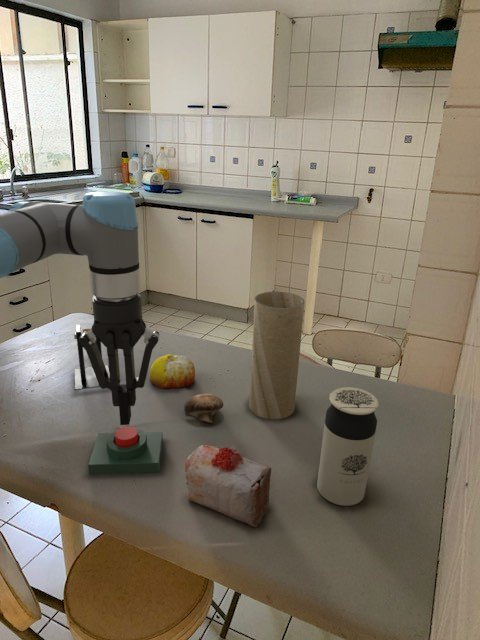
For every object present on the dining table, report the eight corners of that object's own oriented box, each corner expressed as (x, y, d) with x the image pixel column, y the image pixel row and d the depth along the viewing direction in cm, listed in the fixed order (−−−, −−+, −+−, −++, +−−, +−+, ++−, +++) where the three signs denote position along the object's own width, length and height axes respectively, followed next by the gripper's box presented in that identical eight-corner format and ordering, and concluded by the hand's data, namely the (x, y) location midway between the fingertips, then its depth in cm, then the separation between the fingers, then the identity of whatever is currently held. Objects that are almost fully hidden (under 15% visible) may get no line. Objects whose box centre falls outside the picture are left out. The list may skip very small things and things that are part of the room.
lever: (82, 348, 115) (80, 333, 116) (97, 346, 116) (95, 332, 117) (80, 342, 103) (79, 326, 103) (97, 341, 104) (95, 325, 104)
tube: (274, 389, 109) (282, 288, 99) (303, 410, 101) (315, 302, 92) (240, 402, 103) (244, 296, 94) (268, 424, 96) (276, 312, 86)
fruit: (179, 398, 103) (170, 365, 101) (145, 396, 109) (135, 365, 107) (207, 376, 112) (198, 345, 110) (174, 376, 118) (165, 347, 116)
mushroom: (217, 421, 90) (211, 390, 92) (181, 429, 93) (175, 398, 94) (231, 419, 98) (225, 390, 99) (197, 426, 100) (192, 398, 101)
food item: (177, 502, 75) (176, 452, 71) (203, 472, 82) (203, 426, 78) (253, 535, 69) (257, 483, 66) (274, 500, 76) (278, 451, 72)
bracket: (74, 373, 113) (68, 320, 107) (108, 369, 115) (104, 317, 110) (75, 394, 104) (68, 338, 99) (112, 389, 106) (107, 334, 101)
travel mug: (315, 471, 83) (326, 384, 76) (360, 476, 82) (375, 388, 75) (318, 504, 76) (330, 411, 69) (367, 509, 75) (384, 415, 68)
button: (113, 448, 81) (112, 439, 81) (117, 434, 85) (116, 426, 84) (136, 447, 82) (136, 439, 81) (139, 433, 85) (138, 425, 85)
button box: (89, 474, 80) (86, 456, 79) (99, 442, 88) (97, 424, 87) (159, 472, 81) (158, 454, 80) (162, 441, 89) (162, 423, 88)
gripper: (160, 286, 77) (164, 407, 86) (79, 286, 76) (92, 409, 85) (156, 302, 70) (161, 432, 79) (67, 302, 69) (83, 434, 78)
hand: (125, 420), depth 82 cm, fingers closed
